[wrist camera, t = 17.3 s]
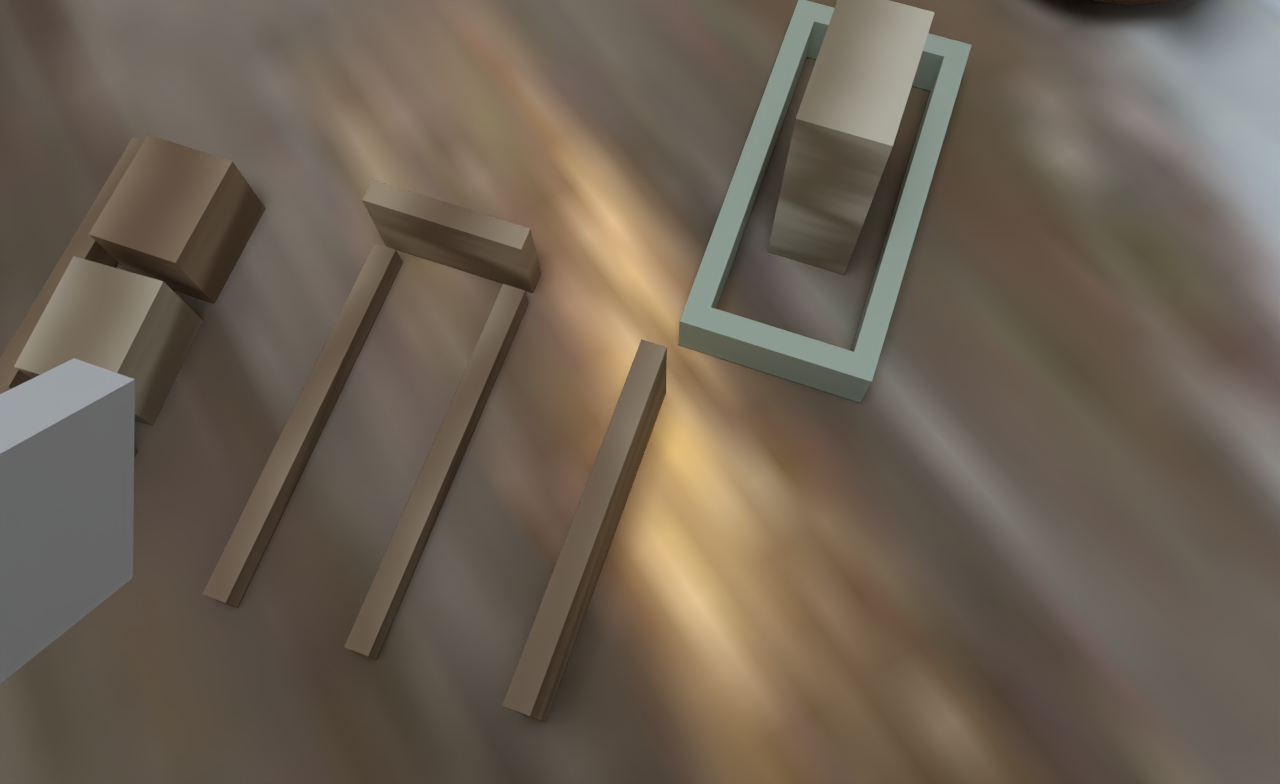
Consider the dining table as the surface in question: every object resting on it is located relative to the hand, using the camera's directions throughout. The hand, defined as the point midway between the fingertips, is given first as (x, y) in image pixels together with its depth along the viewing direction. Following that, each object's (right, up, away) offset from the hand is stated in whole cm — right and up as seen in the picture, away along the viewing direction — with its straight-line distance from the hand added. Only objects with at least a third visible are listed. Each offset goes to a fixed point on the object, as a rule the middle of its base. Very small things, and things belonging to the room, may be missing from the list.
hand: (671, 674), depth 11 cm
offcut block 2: (-22, +4, +34) cm, 40 cm away
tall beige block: (+8, +11, +36) cm, 38 cm away
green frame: (+8, +11, +36) cm, 38 cm away
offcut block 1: (-20, +10, +36) cm, 42 cm away
